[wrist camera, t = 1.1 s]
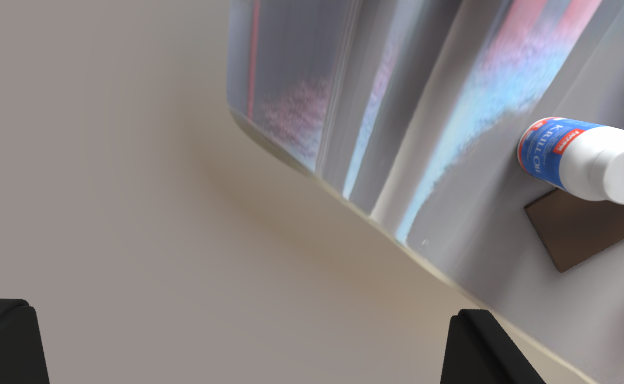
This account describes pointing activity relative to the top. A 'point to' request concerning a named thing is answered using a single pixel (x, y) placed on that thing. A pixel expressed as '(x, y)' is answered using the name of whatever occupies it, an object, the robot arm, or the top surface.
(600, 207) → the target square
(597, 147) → the pill bottle
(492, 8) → the top surface
